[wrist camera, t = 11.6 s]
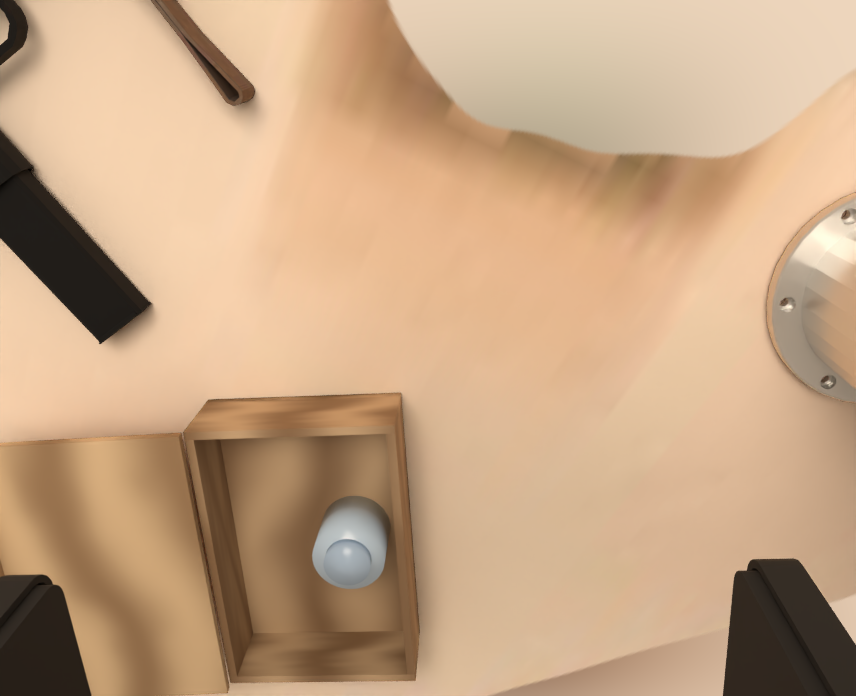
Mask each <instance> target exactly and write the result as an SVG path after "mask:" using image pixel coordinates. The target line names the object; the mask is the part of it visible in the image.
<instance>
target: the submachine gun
mask: <svg viewBox="0 0 856 696" xmlns="http://www.w3.org/2000/svg"><path fill="white" fill-rule="evenodd" d="M151 1H152V3H153V4H154V5H155V6H156V8H157V9H158V10H159V11H160V13H161V14H162V15H163V17H164V18H165V19H166V20H167V22H168V23H169V24H170V26H171V27H172V28H173V29H174V31H175V32H176V33H177V35H178V36H179V37H180V38H181V40H182V41H183V42H184V44H185V45H186V46H187V48H188V49H189V51H190V52H191V53H192V55H193V56H194V58H195V59H196V60H197V62H198V63H199V65H200V66H201V67H202V69H203V70H204V72H205V73H206V74H207V76H208V77H209V79H210V80H211V81H212V83H213V84H214V85H215V87H216V88H217V90H218V91H219V92H220V94H221V95H222V97H223V98H224V99H225V101H226V102H227V103H229V104H231V105H233V106H235V105H238V104H241V103H243V102H246V101H248V100H250V99H251V98H253V96H254V92H255V91H254V87H253V85H252V84H251V83H250V82H249V81H248V80H247V79H246V78H245V77H244V76H243V75H242V74H241V73H240V72H239V70H238V69H237V68H236V67H235V66H234V65H233V64H232V63H231V62H230V61H229V60H228V59H227V58H226V57H225V56H224V55H223V54H222V53H221V52H220V51H219V50H218V48H217V47H216V46H215V45H214V44H213V43H212V42H211V41H210V40H209V39H208V38H207V37H206V36H205V35H204V34H203V33H202V32H201V30H200V29H199V28H198V27H197V25H196V24H195V23H194V22H193V20H192V19H191V18H190V17H189V16H188V14H187V13H186V12H185V11H184V9H183V8H182V7H181V6H180V5H179V3H178V2H177V1H176V0H151ZM0 8H1V9H2V11H3V12H4V13H5V14H6V17H7V19H8V21H9V23H10V24H9V32H8V39H7V40H6V41H5V42H4V43H2V44H1V45H0V65H2V64H3V63H4V62H5V61H6V60H7V59H9V58H10V57H11V56H12V55H13V54H15V53H16V52H17V51H18V50H19V49H20V48H22V47H23V45H24V43H25V41H26V38H27V31H28V25H27V21H26V17H25V15H24V13H23V11H22V10H21V8H20V7H19V6H18V5H17V4H16V2H15V1H14V0H0ZM32 169H33V166H32V165H31V164H30V163H29V162H28V161H27V160H26V159H25V158H24V156H23V155H22V154H21V153H20V152H19V151H18V150H17V149H16V148H15V146H14V145H13V144H12V143H11V142H10V141H9V140H8V139H7V138H6V137H5V135H4V134H3V133H2V132H1V131H0V238H1V239H2V240H3V241H4V242H5V243H6V245H7V246H8V247H9V248H10V249H11V250H12V251H13V252H14V253H15V254H16V255H17V256H18V257H19V258H20V259H21V260H22V261H23V262H24V263H25V264H26V265H27V266H28V267H29V269H30V270H31V271H32V272H33V273H34V274H35V275H36V276H37V277H38V278H39V279H40V280H41V281H42V282H43V283H44V284H45V285H46V286H47V287H48V288H49V289H50V290H51V291H52V293H53V294H54V295H55V296H56V297H57V298H58V299H59V300H60V301H61V302H62V303H63V304H64V305H65V306H66V307H67V308H68V309H69V310H70V311H71V312H72V313H73V314H74V316H75V317H76V318H77V319H78V320H79V321H80V322H81V323H82V324H83V325H84V326H85V327H86V328H87V329H88V330H89V331H90V332H91V333H92V334H93V335H94V336H95V337H96V338H97V340H98V341H99V342H100V343H99V344H101V343H103V342H104V341H105V340H107V339H108V338H109V337H110V336H112V335H113V334H114V333H116V332H117V331H118V330H119V329H121V328H122V327H123V326H125V325H126V324H127V323H129V322H130V321H131V320H132V319H134V318H135V317H136V316H138V315H139V314H140V313H141V312H142V311H144V310H145V309H146V308H147V307H148V306H149V305H150V304H151V302H148V301H147V300H146V299H145V297H144V296H143V295H142V294H141V293H140V292H139V291H138V290H137V289H136V288H135V287H134V285H133V284H132V283H131V282H130V281H129V280H128V279H127V278H126V277H125V276H124V274H123V273H122V272H121V271H120V270H119V269H118V268H117V267H116V266H115V265H114V264H113V262H112V261H111V260H110V259H109V258H108V257H107V256H106V255H105V254H104V253H103V251H102V250H101V249H100V248H99V247H98V246H97V245H96V244H95V243H94V242H93V241H92V239H91V238H90V237H89V236H88V235H87V234H86V233H85V232H84V231H83V230H82V228H81V227H80V226H79V225H78V224H77V223H76V222H75V221H74V220H73V219H72V218H71V216H70V215H69V214H68V213H67V212H66V211H65V210H64V209H63V208H62V207H61V205H60V204H59V203H58V202H57V201H56V200H55V199H54V198H53V197H52V196H51V195H50V193H49V192H48V191H47V190H46V189H45V188H44V187H43V186H42V185H41V184H40V182H39V181H38V180H37V179H36V178H35V177H34V176H33V175H32V174H31V173H30V172H31V171H32Z"/></svg>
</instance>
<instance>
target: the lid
mask: <svg viewBox="0 0 856 696" xmlns="http://www.w3.org/2000/svg"><path fill="white" fill-rule="evenodd" d="M35 574H43V575H47V576H48V577H49V578H50V579H51V580H52V583H53V585H59V586H60V587H61V588H62V590H63V592H64V595H65V599H66V602H67V606H68V610H69V614H70V617H71V621H72V625H73V628H74V632H75V636H76V639H77V643H78V647H79V651H80V654H81V658H82V662H83V665H84V669H85V673H86V677H87V680H88V684H89V688H90V691H91V695H92V696H176V695H196V694H216V693H228V690H229V682H228V677H227V671H226V666H225V661H224V655H223V650H222V645H221V640H220V634H219V629H218V624H217V619H216V613H215V608H214V603H213V597H212V592H211V587H210V582H209V576H208V571H207V566H206V561H205V555H204V550H203V545H202V539H201V534H200V529H199V524H198V518H197V513H196V508H195V503H194V497H193V492H192V487H191V481H190V476H189V471H188V466H187V460H186V455H185V450H184V445H183V439H182V434H181V433H170V434H152V435H134V436H116V437H98V438H80V439H62V440H45V441H27V442H9V443H0V577H2V576H5V575H35Z"/></svg>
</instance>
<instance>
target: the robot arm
mask: <svg viewBox="0 0 856 696" xmlns="http://www.w3.org/2000/svg"><path fill="white" fill-rule="evenodd" d="M844 211H846V212H847V213H846V216H845V217H843V218H841V217H842V214H843V212H844ZM784 298H786V300H785V302H784V303H783V304H780V302H781V301H782V300H783V299H784ZM767 323H768V329H769V332H770V336H771V339H772V343H773V345H774V347H775V349H776V351H777V352H778V354H779V356H780V358H781V360H782V361H783V362H784V363H785V364H786V366H787V367H788V368H789V369H790V370H791V371H792V372H793V374H795V375H796V376H797V377H798V378H799V379H800V380H802V381H803V382H804V383H805V384H806V385H807V386H809V387H811V388H812V389H814V390H815V391H817V392H819V393H821V394H823V395H825V396H828V397H831V398H834V399H837V400H840V401H844V402H852V403H856V192H855V193H853V194H850V195H848V196H846V197H843V198H841V199H840V200H838V201H836V202H835V203H833V204H832V205H830V206H828V207H827V208H825V209H824V210H822V211H821V212H819V213H818V214H817V215H816V216H815V217H814V218H813V219H811V220H810V221H809V222H808V223H807V224H806V225H805V226H803V227H802V229H801V230H800V231H799V232H798V234H797V235H796V236H795V237H794V238H793V240H792V241H791V242H790V243H789V244H788V246H787V248H786V249H785V251H784V253H783V255H782V256H781V258H780V260H779V262H778V263H777V265H776V268H775V271H774V274H773V277H772V280H771V283H770V285H769V292H768V299H767ZM823 377H825V378H824V379H822V378H823ZM0 696H92V695H91V691H90V688H89V684H88V680H87V677H86V673H85V669H84V665H83V662H82V658H81V654H80V651H79V647H78V643H77V639H76V636H75V632H74V628H73V625H72V621H71V617H70V614H69V610H68V606H67V602H66V599H65V595H64V592H63V590H62V588H61V587H60V586H59V585H53V583H52V580H51V579H50V578H49V577H48V576H47V575H43V574H35V575H5V576H2V577H0ZM723 696H856V645H855V643H854V642H853V640H852V639H851V637H850V636H849V634H848V633H847V631H846V630H845V628H844V627H843V625H842V624H841V622H840V621H839V619H838V618H837V616H836V615H835V613H834V612H833V610H832V609H831V607H830V606H829V604H828V603H827V601H826V600H825V598H824V597H823V595H822V594H821V592H820V591H819V589H818V588H817V586H816V585H815V583H814V582H813V580H812V579H811V577H810V576H809V574H808V573H807V571H806V570H805V568H804V567H803V565H802V564H801V563H800V562H799V561H798V560H796V559H753V560H751V561H750V562H749V564H748V568H747V571H737V572H736V574H735V577H734V584H733V594H732V605H731V616H730V626H729V637H728V649H727V658H726V669H725V680H724V691H723Z"/></svg>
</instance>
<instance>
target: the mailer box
mask: <svg viewBox="0 0 856 696" xmlns="http://www.w3.org/2000/svg"><path fill="white" fill-rule="evenodd" d="M183 433H184V439H185V444H186V449H187V454H188V460H189V465H190V470H191V476H192V481H193V486H194V492H195V497H196V502H197V507H198V513H199V518H200V523H201V529H202V534H203V539H204V545H205V550H206V555H207V560H208V566H209V571H210V576H211V582H212V587H213V592H214V598H215V603H216V608H217V613H218V619H219V624H220V629H221V635H222V640H223V645H224V651H225V656H226V661H227V667H228V672H229V677H230V682H231V683H255V682H344V681H416V669H417V657H418V645H419V633H420V630H419V618H418V605H417V592H416V579H415V566H414V554H413V541H412V528H411V515H410V502H409V490H408V477H407V464H406V451H405V438H404V426H403V413H402V400H401V393H382V394H354V395H326V396H298V397H270V398H242V399H214V400H208V401H207V402H206V404H205V405H204V406H203V407H202V409H201V410H200V411H199V413H198V414H197V415H196V417H195V418H194V419H193V421H192V422H191V423H190V424H189V426H188V427H187V428H186V430H185V431H184V432H183ZM347 496H362V497H366V498H369V499H371V500H373V501H375V502H376V503H378V504H379V505H380V506H381V507H382V508H383V509H384V510H385V512H386V513H387V515H388V517H389V520H390V534H389V540H388V546H387V552H386V558H385V564H384V568H383V571H382V573H381V575H380V576H379V577H378V578H377V579H376V580H375V581H374V582H373V583H371V584H370V585H368V586H365V587H362V588H358V589H345V588H340V587H337V586H334V585H332V584H330V583H328V582H327V581H325V580H324V579H323V578H322V577H321V576H320V575H319V574H318V572H317V571H316V569H315V567H314V564H313V560H312V553H313V548H314V545H315V542H316V539H317V536H318V533H319V529H320V526H321V523H322V520H323V517H324V514H325V512H326V510H327V508H328V507H329V506H330V505H331V504H332V503H333V502H335V501H336V500H338V499H340V498H343V497H347Z"/></svg>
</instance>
